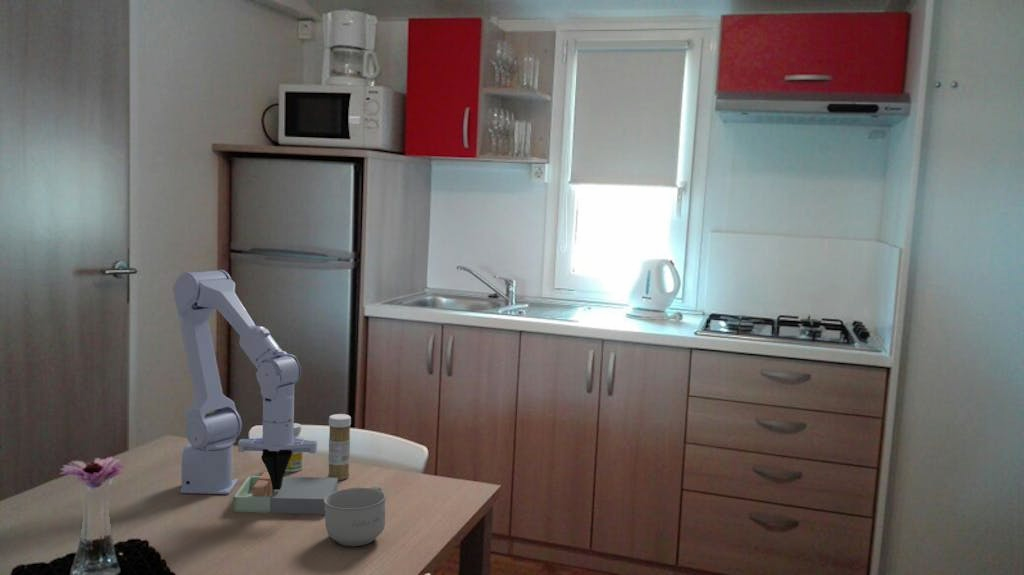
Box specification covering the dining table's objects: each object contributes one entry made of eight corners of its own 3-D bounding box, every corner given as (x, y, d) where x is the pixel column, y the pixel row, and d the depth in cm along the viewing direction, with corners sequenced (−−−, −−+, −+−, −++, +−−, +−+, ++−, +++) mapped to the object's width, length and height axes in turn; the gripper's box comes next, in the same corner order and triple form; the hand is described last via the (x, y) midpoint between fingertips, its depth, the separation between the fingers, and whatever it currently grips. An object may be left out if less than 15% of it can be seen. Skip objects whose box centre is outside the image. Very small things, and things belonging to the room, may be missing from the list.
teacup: (356, 557, 144) (357, 512, 143) (309, 541, 149) (310, 497, 149) (408, 532, 156) (409, 489, 155) (363, 517, 161) (364, 476, 160)
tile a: (269, 498, 168) (259, 498, 167) (274, 491, 172) (264, 490, 171) (270, 478, 167) (259, 478, 167) (274, 471, 171) (264, 471, 171)
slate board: (269, 513, 161) (270, 497, 161) (282, 490, 173) (282, 476, 173) (328, 514, 162) (329, 499, 162) (337, 492, 174) (337, 477, 173)
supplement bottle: (284, 463, 190) (285, 421, 189) (307, 465, 189) (308, 423, 188) (274, 471, 185) (274, 427, 183) (297, 473, 184) (298, 429, 183)
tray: (233, 512, 161) (233, 497, 160) (248, 490, 173) (248, 475, 172) (269, 513, 161) (270, 497, 161) (282, 490, 173) (282, 476, 173)
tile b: (261, 508, 162) (251, 507, 162) (266, 500, 166) (256, 499, 166) (264, 488, 162) (253, 487, 162) (268, 481, 166) (258, 479, 166)
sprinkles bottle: (343, 472, 186) (344, 412, 184) (353, 478, 182) (354, 417, 181) (323, 476, 183) (325, 414, 181) (333, 482, 179) (335, 420, 178)
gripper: (234, 423, 158) (233, 494, 160) (313, 425, 159) (311, 496, 161) (243, 413, 165) (242, 481, 167) (319, 415, 166) (317, 483, 168)
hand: (277, 487), depth 164 cm, fingers closed
